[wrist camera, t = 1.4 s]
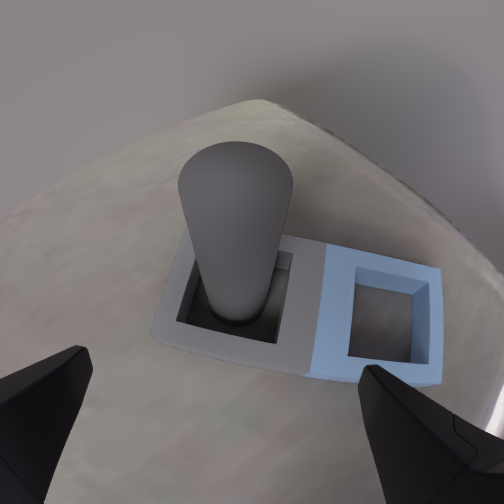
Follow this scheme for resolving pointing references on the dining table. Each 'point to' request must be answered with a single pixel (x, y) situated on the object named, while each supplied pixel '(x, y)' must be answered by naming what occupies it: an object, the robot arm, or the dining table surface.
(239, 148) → the plug
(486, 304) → the dining table surface
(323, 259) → the two-hole peg board
